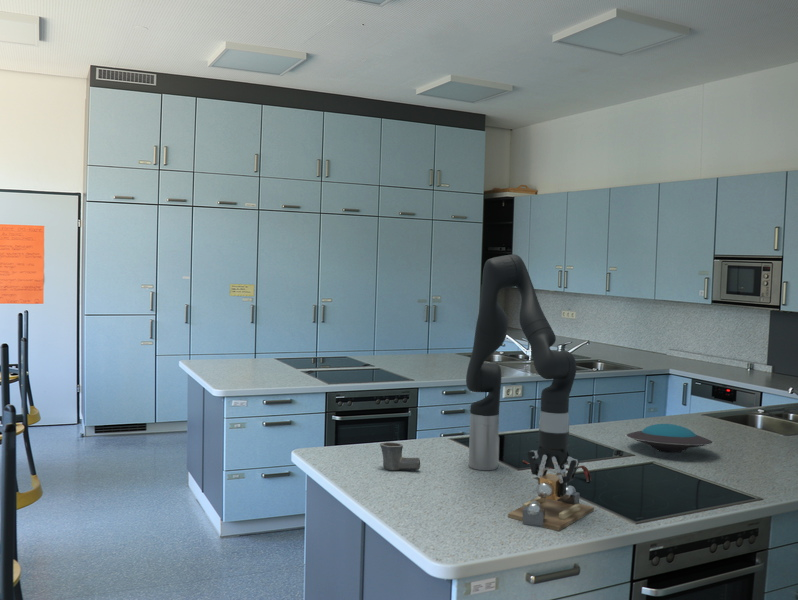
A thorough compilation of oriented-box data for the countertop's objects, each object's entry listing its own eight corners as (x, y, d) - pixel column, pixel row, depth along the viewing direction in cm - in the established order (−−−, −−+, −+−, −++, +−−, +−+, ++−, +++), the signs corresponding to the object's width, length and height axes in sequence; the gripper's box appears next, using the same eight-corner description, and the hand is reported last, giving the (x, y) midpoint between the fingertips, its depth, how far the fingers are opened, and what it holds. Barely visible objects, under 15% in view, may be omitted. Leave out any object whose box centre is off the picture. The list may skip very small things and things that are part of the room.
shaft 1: (525, 518, 173) (525, 499, 173) (545, 521, 171) (545, 502, 171) (522, 524, 169) (523, 504, 169) (543, 526, 168) (543, 507, 167)
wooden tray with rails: (545, 498, 189) (545, 489, 189) (593, 510, 180) (593, 501, 180) (508, 517, 174) (508, 507, 174) (558, 531, 165) (558, 520, 165)
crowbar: (592, 482, 207) (591, 466, 207) (587, 484, 205) (586, 467, 206) (526, 474, 227) (525, 458, 227) (522, 475, 225) (521, 459, 226)
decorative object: (718, 450, 250) (719, 422, 250) (705, 467, 226) (706, 437, 225) (635, 438, 266) (636, 412, 265) (615, 453, 241) (616, 425, 241)
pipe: (417, 474, 210) (418, 448, 210) (377, 471, 213) (377, 445, 212) (421, 468, 216) (421, 443, 216) (381, 465, 219) (382, 440, 218)
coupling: (552, 490, 182) (553, 471, 182) (568, 494, 179) (569, 475, 179) (534, 498, 174) (534, 479, 174) (550, 502, 172) (551, 483, 171)
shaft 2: (562, 501, 187) (562, 483, 187) (579, 505, 184) (579, 487, 184) (555, 505, 184) (555, 487, 184) (572, 509, 181) (573, 491, 181)
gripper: (586, 430, 175) (584, 497, 175) (536, 422, 184) (534, 485, 184) (573, 435, 169) (570, 504, 170) (522, 426, 178) (520, 491, 179)
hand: (551, 494), depth 177 cm, fingers closed on coupling, 4 cm apart
